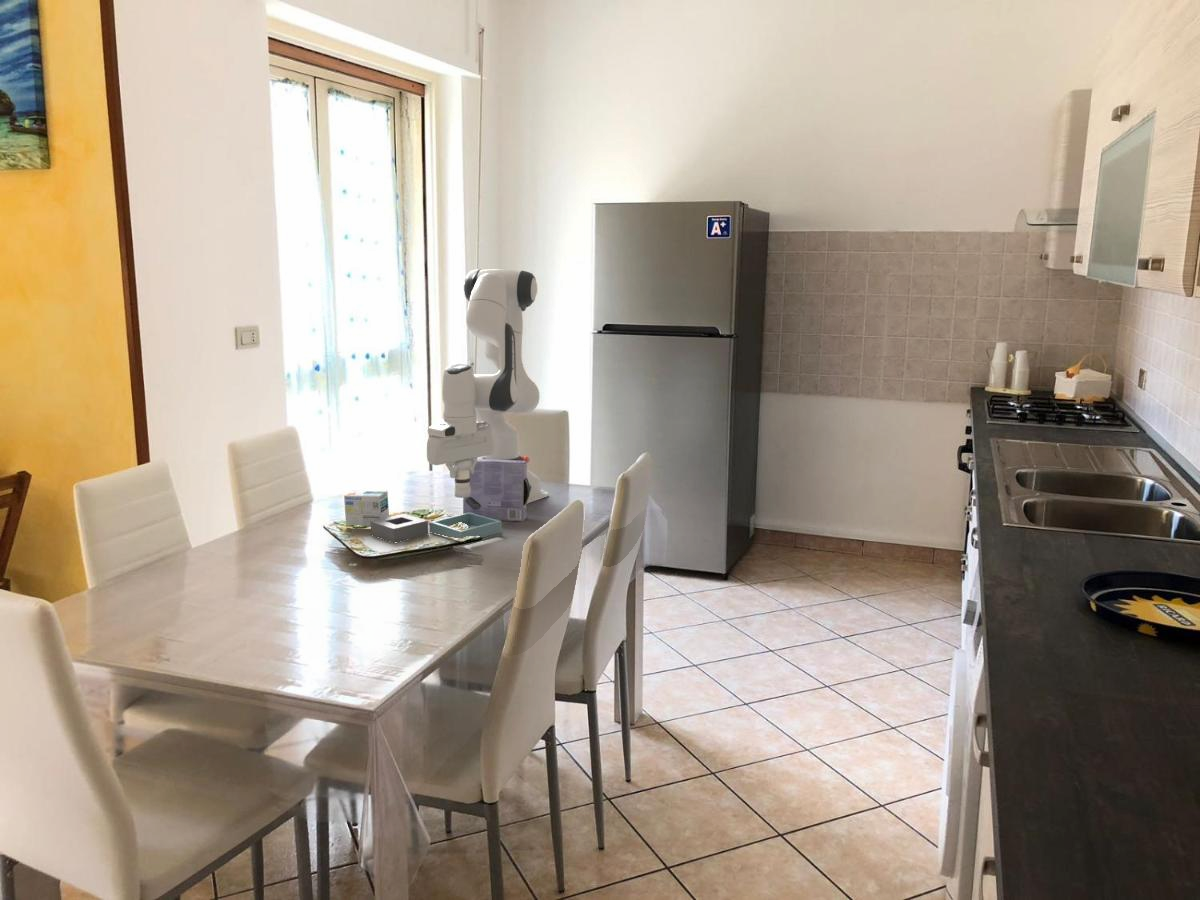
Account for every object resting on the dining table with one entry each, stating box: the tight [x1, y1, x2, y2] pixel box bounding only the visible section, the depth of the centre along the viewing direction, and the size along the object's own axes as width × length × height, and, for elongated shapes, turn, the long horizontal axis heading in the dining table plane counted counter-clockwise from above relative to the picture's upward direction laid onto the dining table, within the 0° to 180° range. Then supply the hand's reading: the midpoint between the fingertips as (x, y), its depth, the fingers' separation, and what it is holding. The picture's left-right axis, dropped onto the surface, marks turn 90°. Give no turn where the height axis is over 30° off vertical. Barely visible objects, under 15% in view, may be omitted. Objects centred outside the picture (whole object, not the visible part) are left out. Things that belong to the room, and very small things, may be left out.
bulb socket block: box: [370, 513, 429, 544], centre depth 255 cm, size 11×11×5 cm
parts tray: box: [428, 512, 503, 547], centre depth 257 cm, size 14×14×4 cm
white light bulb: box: [453, 459, 471, 499], centre depth 255 cm, size 4×4×10 cm
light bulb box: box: [343, 490, 390, 527], centre depth 263 cm, size 11×7×11 cm, turn 84°
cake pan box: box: [462, 458, 530, 522], centre depth 273 cm, size 19×5×18 cm, turn 84°
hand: (462, 475), depth 254 cm, fingers closed on white light bulb, 4 cm apart
